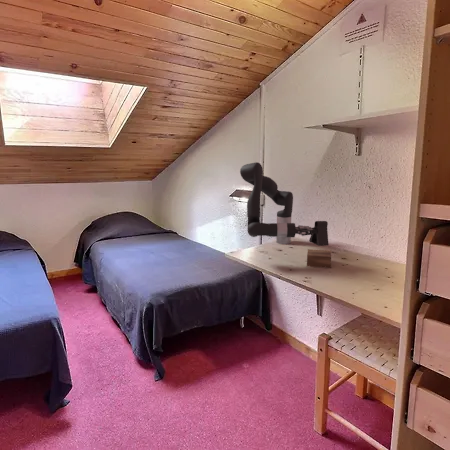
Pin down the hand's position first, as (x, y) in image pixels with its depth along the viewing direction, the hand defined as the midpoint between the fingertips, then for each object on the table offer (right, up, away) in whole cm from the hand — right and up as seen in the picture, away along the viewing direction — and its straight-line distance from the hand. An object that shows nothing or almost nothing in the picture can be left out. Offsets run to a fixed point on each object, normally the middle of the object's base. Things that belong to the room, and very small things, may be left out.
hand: (318, 230), depth 185 cm
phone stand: (0, -7, +2) cm, 7 cm away
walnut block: (+1, -18, +4) cm, 18 cm away
